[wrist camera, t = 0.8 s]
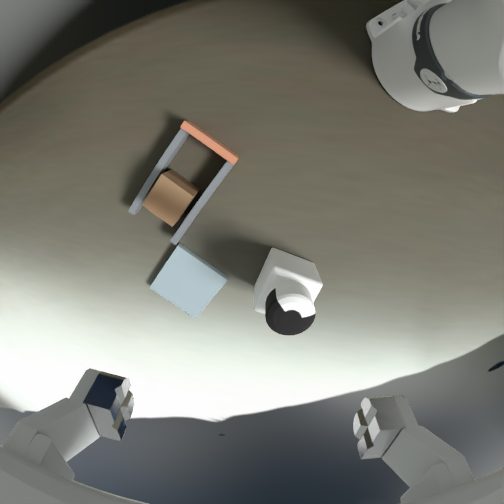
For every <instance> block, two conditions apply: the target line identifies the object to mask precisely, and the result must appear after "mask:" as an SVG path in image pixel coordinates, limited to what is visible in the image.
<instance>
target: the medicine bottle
mask: <svg viewBox="0 0 504 504" xmlns="http://www.w3.org/2000/svg"><path fill="white" fill-rule="evenodd" d="M321 287H322V282H321V279H320V277H319V274H318V271H317V269H316V266H315V264H314V263H313V262H310V261H307V260H305V259H302V258H300V257H297V256H294V255H292V254H289V253H286V252H284V251H281V250H279V249H276V248H271V250H270V252H269V254H268V257H267V259H266V261H265V263H264V266H263V268H262V270H261V272H260V275H259V277H258V279H257V281H256V283H255V286H254V310H255V311H257V312H260V313H263V314H265V316H266V322H267V324H268V325H269V327H270V328H271V329H272V330H273V331H275V332H277V333H279V334H282V335H296V334H299V333H301V332H303V331H305V330H306V329H308V328H309V327H310V326H311V324H312V323H313V321H314V319H315V307H314V304H313V302H314V300H315V298H316V297H317V295H318V293H319V291H320V289H321Z"/></svg>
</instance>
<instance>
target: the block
mask: <svg viewBox="0 0 504 504" xmlns="http://www.w3.org/2000/svg"><path fill="white" fill-rule="evenodd" d="M199 191H200V189H199V188H198V187H196V186H195V185H193V184H192V183H191V182H189V181H188V180H186V179H185V178H184V177H182V176H181V175H179V174H178V173H177V172H175V171H174V170H169V171H167V172H165V173H163V174H161V176H160V177H159V179H158V180H157V182H156V183H155V185H154V187H153V188H152V190H151V191H150V193H149V195H148V196H147V198H146V199H145V201H144V203H143V204H142V206H144V207H145V208H147V209H148V210H149V211H151V212H152V213H153V214H155V215H156V216H158V217H159V218H160V219H162V220H163V221H165V222H166V223H167V224H169V225H170V226H172V227H173V226H174V224H175V223H176V222H177V221H178V220H179V219H180V218H181V216H182V215H183V213H184V212H185V211H186V209H187V208H188V206H189V205H190V203H191V202H192V200H193V199H194V198H195V196H196V195H197V193H198V192H199Z"/></svg>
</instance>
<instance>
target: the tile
mask: <svg viewBox="0 0 504 504" xmlns="http://www.w3.org/2000/svg"><path fill="white" fill-rule="evenodd" d="M227 280H228V277H227V276H226V275H224V274H223V273H222V272H220V271H219V270H217V269H216V268H214V267H213V266H211V265H210V264H209V263H207V262H206V261H204V260H203V259H201V258H200V257H199V256H197V255H196V254H194V253H193V252H191V251H190V250H189V249H187V248H186V247H184V246H183V245H181V244H180V243H179V244H178V246H177V247H176V249H175V250H174V252H173V253H172V255H171V256H170V258H169V259H168V261H167V262H166V264H165V265H164V266H163V268H162V269H161V271H160V272H159V274H158V275H157V277H156V279H155V280H154V282H153V283H152V285H151V286H150V288H151V289H152V290H154V291H155V292H156V293H158V294H159V295H161V296H162V297H164V298H165V299H167V300H168V301H170V302H171V303H173V304H174V305H176V306H177V307H179V308H180V309H182V310H183V311H185V312H186V313H188V314H189V315H191V316H193V317H194V318H197V317H198V315H199V314H200V313H201V312H202V311H203V309H204V308H205V307H206V306H207V304H208V303H209V302H210V301H211V300H212V298H213V297H214V296H215V295H216V293H217V292H218V291H219V290H220V289H221V287H222V286H223V285H224V284H225V283H226V281H227Z"/></svg>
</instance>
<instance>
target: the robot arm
mask: <svg viewBox="0 0 504 504" xmlns="http://www.w3.org/2000/svg"><path fill="white" fill-rule="evenodd" d="M378 22H380V23H381V24H382V26H381V25H379V24H378ZM366 29H367V32H368V35H369V37H370V39H371V42H372V61H373V66H374V70H375V72H376V75H377V77H378V79H379V81H380V83H381V84H382V86H383V87H384V89H385V90H386V91H387V92H388V93H389V94H390V95H391V96H392V97H393V98H394V99H395V100H396V101H397V102H399V103H400V104H402V105H404V106H406V107H408V108H410V109H413V110H417V111H431V110H436V109H440V110H443V111H446V112H450V113H453V112H456V111H458V109H459V107H460V106H462V105H467V104H472V103H475V102H476V101H477V100H479V99H483V98H486V97H489V96H491V95H492V94H504V0H403V1H402V2H400V3H398V4H396V5H395V6H393V7H391V8H389V9H388V10H386V11H384V12H383V13H381V14H379V15H378V16H376V17H374V18H373V19H371V20H370V21H368V22H367V23H366ZM129 388H130V382H129V379H128V378H125V377H121V376H117V375H113V374H109V373H105V372H101V371H98V370H94V369H90V368H89V369H88V370H86V372H85V373H84V375H83V376H82V378H81V380H80V381H79V383H78V385H77V386H76V388H75V390H74V391H73V393H72V395H71V396H70V398H64V399H62V400H60V401H58V402H56V403H54V404H52V405H50V406H48V407H46V408H44V409H42V410H40V411H38V412H36V413H34V414H32V415H30V416H29V417H27V418H24V419H22V420H20V421H18V422H17V424H16V425H15V427H14V428H13V430H12V432H11V433H10V435H9V437H8V438H7V440H6V441H5V443H4V445H3V446H1V445H0V504H148V503H143V502H139V501H135V500H132V499H128V498H124V497H121V496H117V495H114V494H111V493H108V492H104V491H101V490H98V489H95V488H92V487H89V486H87V485H84V484H81V483H78V482H76V481H73V478H74V476H75V475H74V473H73V471H72V470H71V468H70V467H69V466H68V464H67V463H66V462H67V461H68V460H70V459H71V458H72V457H74V456H75V455H76V454H78V453H79V452H80V451H82V450H83V449H84V448H85V447H87V446H88V445H90V444H91V443H92V442H93V441H95V440H96V439H97V438H99V437H100V436H104V437H107V438H111V439H115V440H119V441H122V438H123V435H124V433H125V430H126V424H125V421H126V420H128V419H129V418H130V417H131V414H132V411H133V405H134V402H133V394H132V393H131V392H130V391H129ZM361 406H362V409H361V410H359V411H358V412H357V413H356V416H355V417H354V423H353V428H354V433H355V436H356V437H357V438H358V439H360V441H359V443H358V450H359V453H360V457H361V459H368V458H378V457H382V459H383V460H384V461H385V462H386V463H387V464H388V465H389V466H390V467H391V468H392V469H393V470H394V472H396V473H397V474H398V476H399V477H401V479H402V480H403V481H404V482H405V483H406V484H407V485H408V486H409V487H410V489H409V490H408V491H407V492H406V493H404V494H403V495H402V497H401V504H504V467H503V468H501V469H499V470H497V471H495V472H492V473H490V474H488V475H486V476H483V477H481V478H479V479H476V480H474V478H473V475H472V473H471V471H470V469H469V466H468V464H467V462H466V459H465V457H464V456H463V455H462V454H461V453H459V452H458V451H457V450H455V449H454V448H452V447H451V446H449V445H448V444H446V443H445V442H444V441H442V440H441V439H440V438H438V437H437V436H435V435H434V434H432V433H431V432H430V431H428V430H427V429H426V428H424V427H423V426H418V424H417V422H416V419H415V417H414V415H413V413H412V410H411V408H410V406H409V404H408V402H407V400H406V398H405V396H404V395H393V396H377V397H366V398H365V399H363V401H362V403H361Z"/></svg>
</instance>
